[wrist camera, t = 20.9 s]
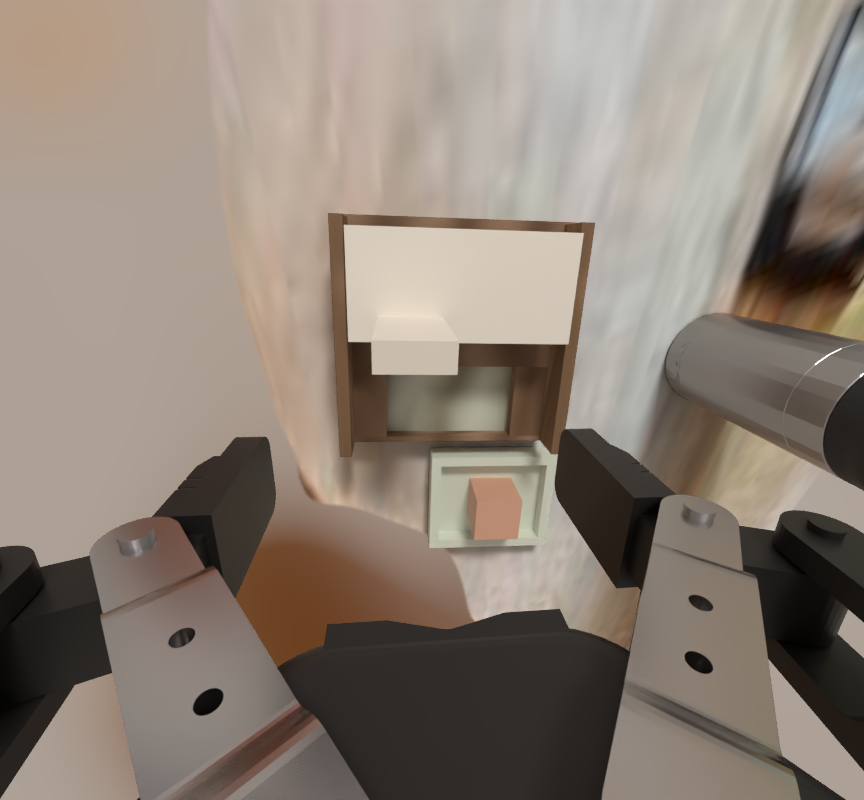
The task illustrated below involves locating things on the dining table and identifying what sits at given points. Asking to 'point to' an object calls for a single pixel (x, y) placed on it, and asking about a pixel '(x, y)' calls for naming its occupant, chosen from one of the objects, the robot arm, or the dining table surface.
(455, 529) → the sage tray
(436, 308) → the cover
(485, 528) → the terracotta block
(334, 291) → the brown wooden box
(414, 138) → the dining table surface
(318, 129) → the dining table surface
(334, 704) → the robot arm
